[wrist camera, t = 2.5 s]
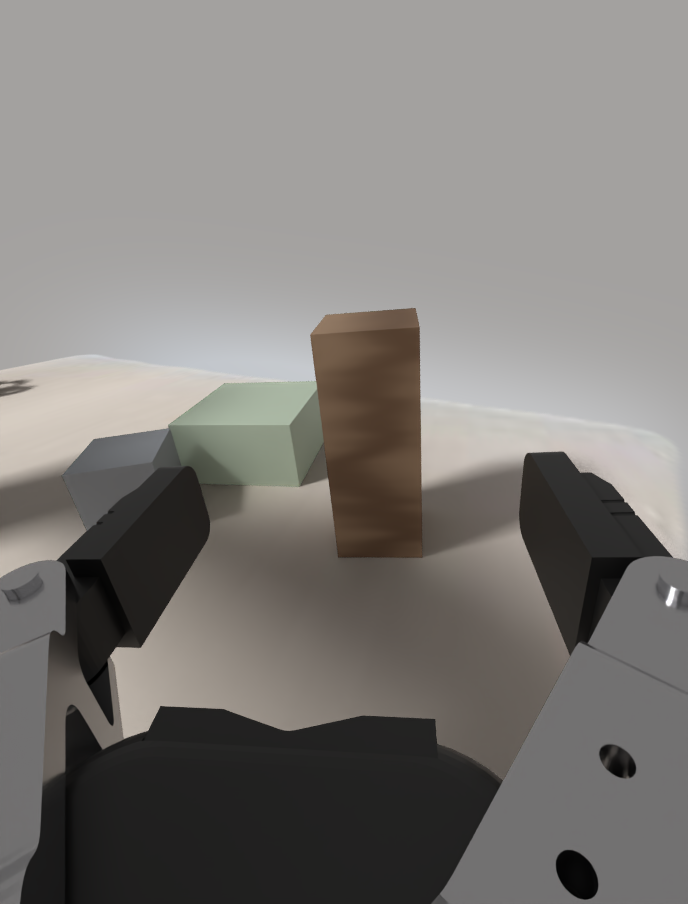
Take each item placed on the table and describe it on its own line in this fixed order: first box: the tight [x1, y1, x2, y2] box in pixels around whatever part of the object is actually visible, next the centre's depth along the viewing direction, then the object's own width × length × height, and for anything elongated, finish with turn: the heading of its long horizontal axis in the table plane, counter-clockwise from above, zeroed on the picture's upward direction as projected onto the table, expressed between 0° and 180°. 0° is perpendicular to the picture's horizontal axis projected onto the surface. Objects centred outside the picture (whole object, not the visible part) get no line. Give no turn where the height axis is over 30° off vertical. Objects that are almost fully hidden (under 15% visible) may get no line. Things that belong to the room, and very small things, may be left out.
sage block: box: [168, 381, 324, 487], centre depth 34 cm, size 9×9×5 cm
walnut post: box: [310, 308, 422, 558], centre depth 22 cm, size 4×4×12 cm
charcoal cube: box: [62, 428, 181, 531], centre depth 28 cm, size 5×5×5 cm
